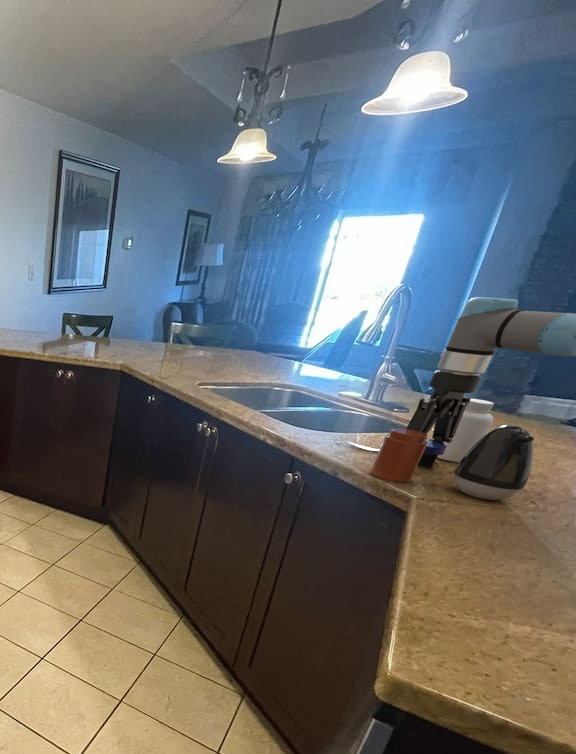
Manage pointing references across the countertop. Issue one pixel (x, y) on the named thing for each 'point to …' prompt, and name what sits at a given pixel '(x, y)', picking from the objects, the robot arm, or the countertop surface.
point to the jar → (399, 455)
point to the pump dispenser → (496, 464)
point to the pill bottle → (469, 430)
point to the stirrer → (362, 445)
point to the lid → (434, 448)
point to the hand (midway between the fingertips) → (413, 467)
